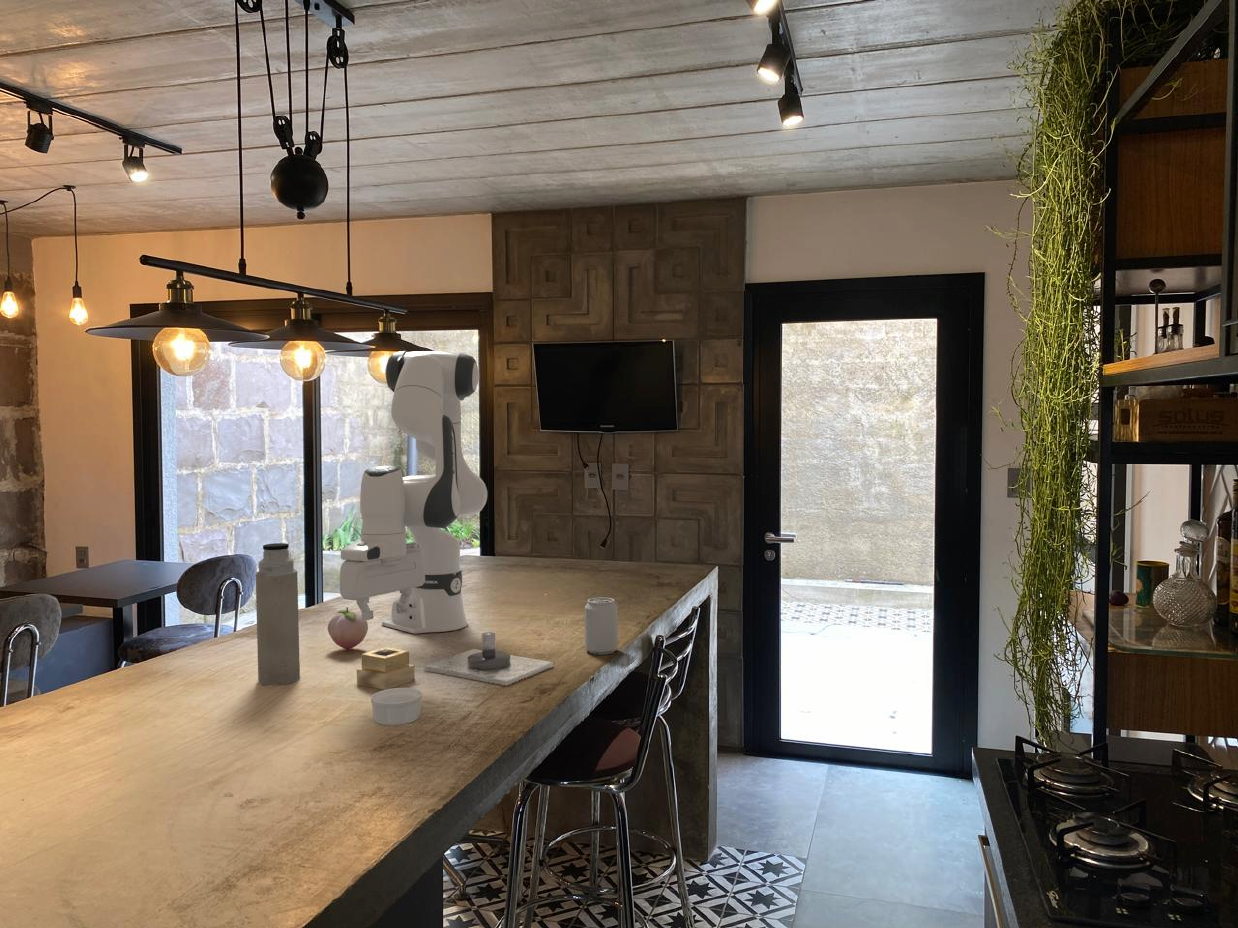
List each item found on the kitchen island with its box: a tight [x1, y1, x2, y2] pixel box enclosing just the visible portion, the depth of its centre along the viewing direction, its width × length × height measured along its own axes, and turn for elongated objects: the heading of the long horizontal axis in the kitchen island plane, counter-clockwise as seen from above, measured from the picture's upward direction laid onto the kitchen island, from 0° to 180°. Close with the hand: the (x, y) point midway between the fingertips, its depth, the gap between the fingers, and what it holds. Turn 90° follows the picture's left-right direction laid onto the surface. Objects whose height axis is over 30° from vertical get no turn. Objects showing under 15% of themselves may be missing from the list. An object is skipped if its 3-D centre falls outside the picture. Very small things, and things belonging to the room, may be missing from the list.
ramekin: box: [370, 687, 423, 726], centre depth 160 cm, size 9×9×4 cm
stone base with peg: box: [423, 631, 554, 687], centre depth 192 cm, size 22×16×8 cm
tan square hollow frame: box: [361, 646, 410, 673], centre depth 182 cm, size 7×7×3 cm
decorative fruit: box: [327, 606, 369, 651], centre depth 208 cm, size 9×8×10 cm
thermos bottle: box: [255, 542, 301, 686], centre depth 184 cm, size 8×8×28 cm
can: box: [584, 596, 619, 656], centre depth 205 cm, size 8×8×12 cm
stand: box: [356, 649, 416, 690], centre depth 182 cm, size 8×8×6 cm
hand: (385, 615), depth 182 cm, fingers open, 8 cm apart
